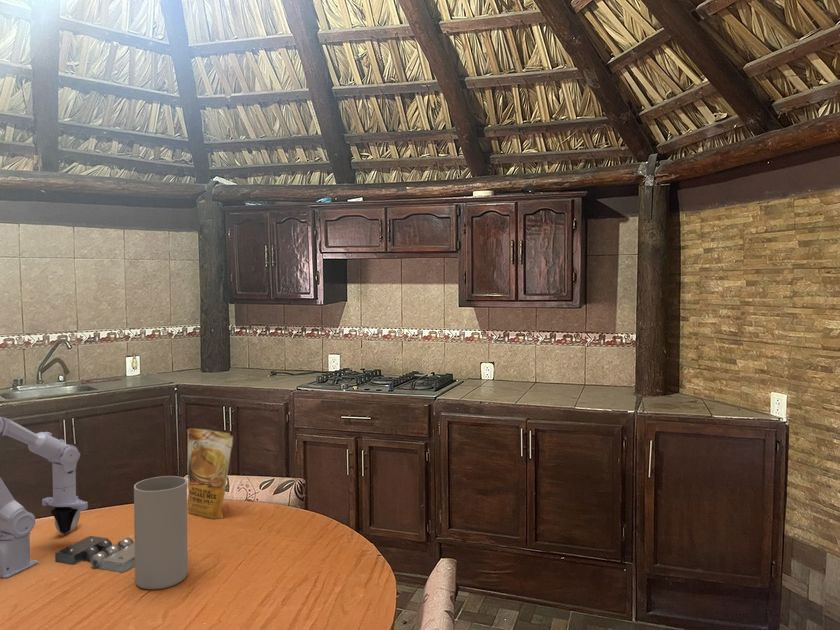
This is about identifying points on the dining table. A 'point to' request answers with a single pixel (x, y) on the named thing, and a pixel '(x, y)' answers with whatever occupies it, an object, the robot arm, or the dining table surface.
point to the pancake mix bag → (207, 471)
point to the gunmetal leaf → (82, 550)
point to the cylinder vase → (160, 532)
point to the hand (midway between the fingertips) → (65, 531)
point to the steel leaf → (116, 557)
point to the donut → (74, 522)
